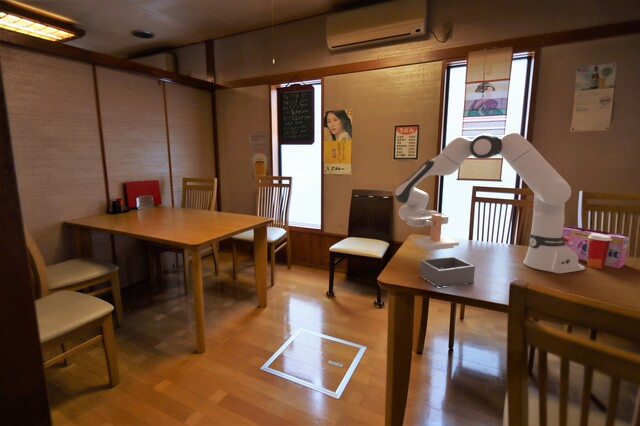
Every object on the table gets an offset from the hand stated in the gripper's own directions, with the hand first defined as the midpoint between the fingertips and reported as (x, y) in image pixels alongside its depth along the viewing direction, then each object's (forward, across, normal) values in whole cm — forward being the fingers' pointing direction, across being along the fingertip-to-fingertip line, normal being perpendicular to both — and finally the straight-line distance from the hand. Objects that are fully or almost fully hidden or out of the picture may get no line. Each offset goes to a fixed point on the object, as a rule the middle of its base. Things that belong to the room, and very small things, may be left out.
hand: (437, 223), depth 143 cm
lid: (-1, 0, +11) cm, 11 cm away
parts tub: (+20, -9, +18) cm, 28 cm away
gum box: (+20, +69, +18) cm, 74 cm away
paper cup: (+27, +62, +18) cm, 70 cm away
